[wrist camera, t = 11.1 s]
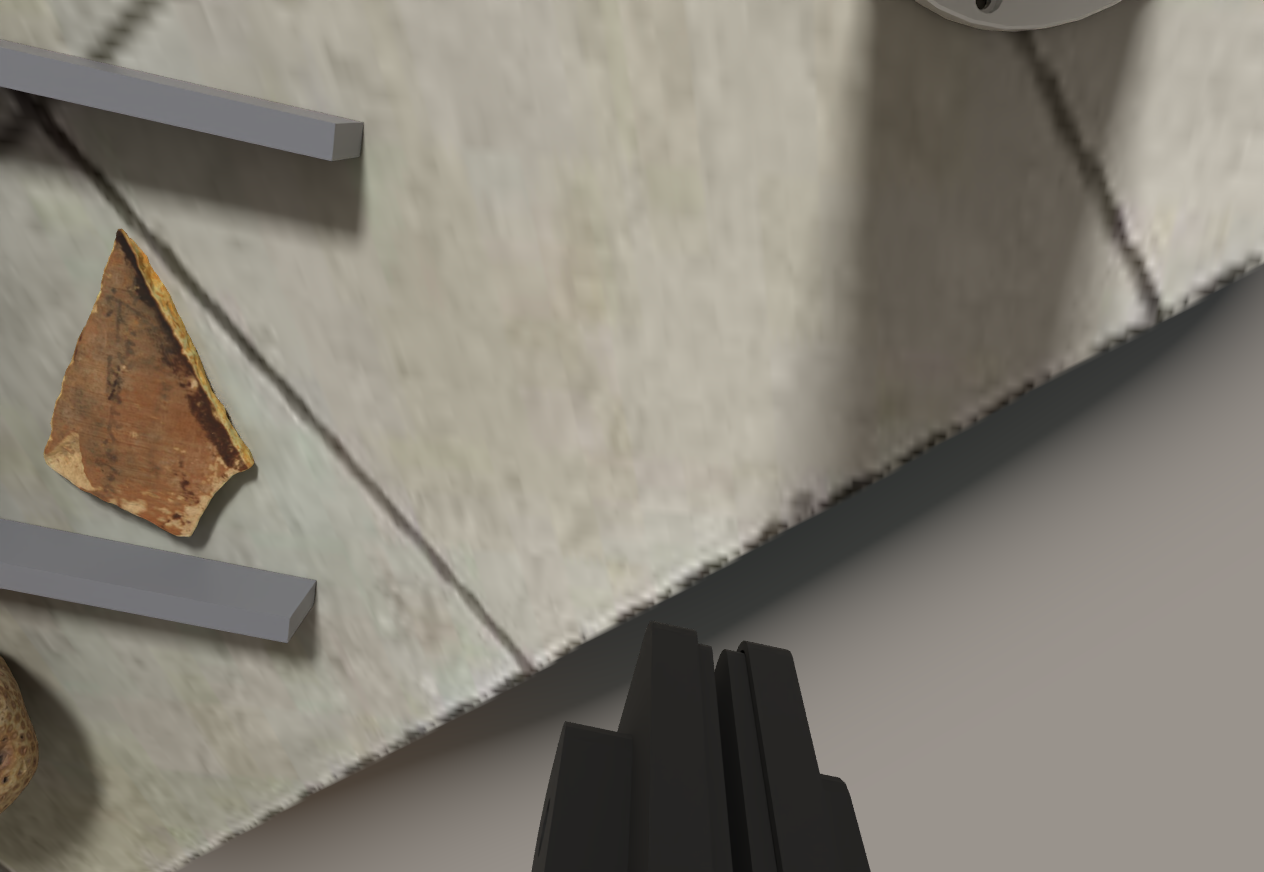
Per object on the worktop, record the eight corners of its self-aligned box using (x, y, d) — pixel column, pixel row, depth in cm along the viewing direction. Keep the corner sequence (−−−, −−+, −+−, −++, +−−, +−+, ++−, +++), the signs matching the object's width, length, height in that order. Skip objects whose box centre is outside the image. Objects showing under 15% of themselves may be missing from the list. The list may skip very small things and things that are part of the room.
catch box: (-72, 22, 30) (-145, 13, 27) (363, 122, 31) (335, 123, 28) (-40, 535, 37) (-96, 569, 34) (313, 603, 38) (287, 643, 35)
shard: (140, 222, 33) (113, 228, 31) (324, 322, 34) (308, 333, 33) (54, 451, 36) (26, 467, 35) (226, 534, 38) (206, 554, 36)
